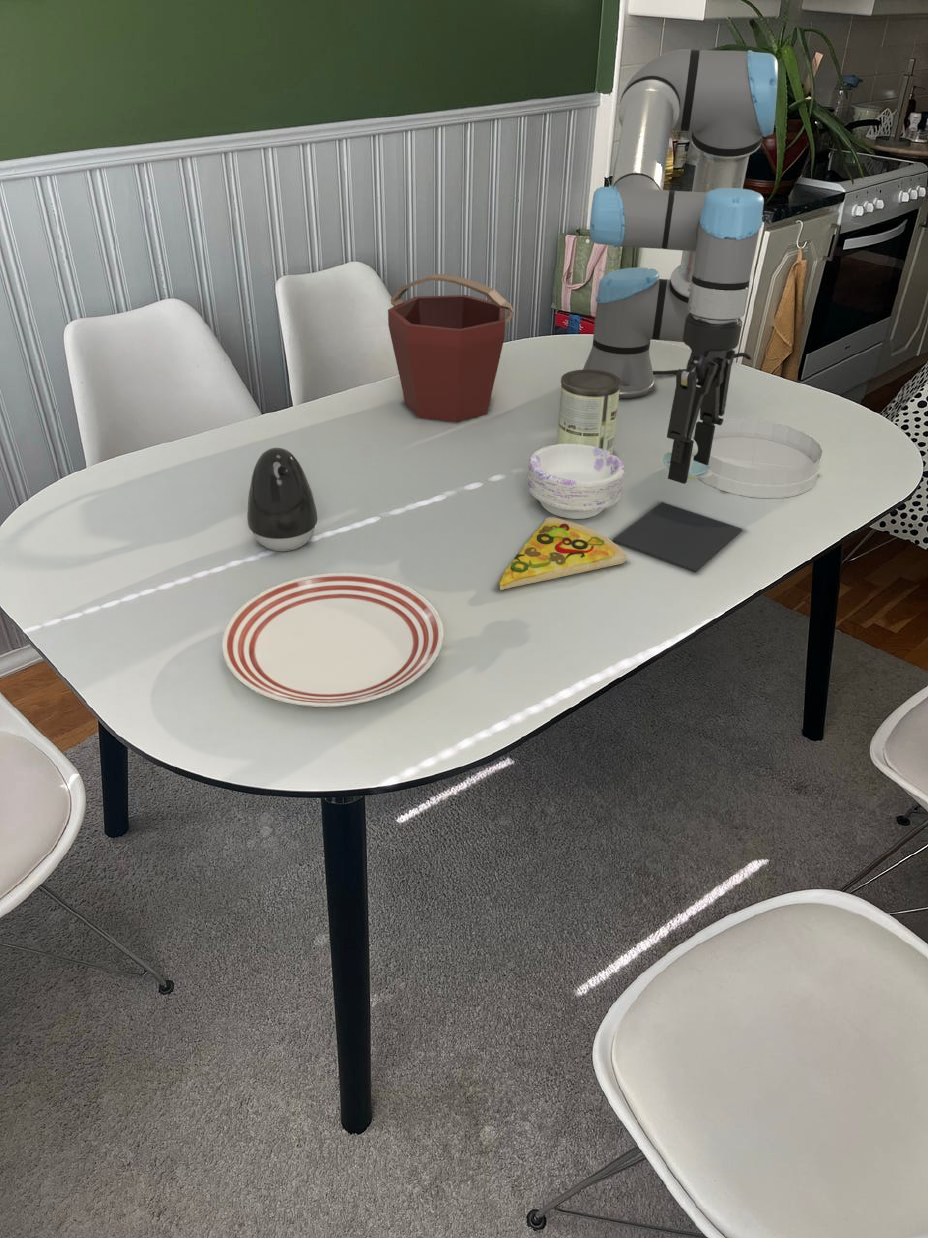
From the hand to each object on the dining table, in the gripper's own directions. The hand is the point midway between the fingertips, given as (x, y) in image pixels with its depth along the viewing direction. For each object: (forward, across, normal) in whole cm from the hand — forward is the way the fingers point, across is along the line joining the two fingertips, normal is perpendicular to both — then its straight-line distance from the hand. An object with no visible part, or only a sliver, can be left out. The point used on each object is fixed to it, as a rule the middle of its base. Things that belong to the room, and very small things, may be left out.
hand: (688, 472), depth 140 cm
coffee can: (+11, -16, -27) cm, 33 cm away
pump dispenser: (+11, +40, -45) cm, 61 cm away
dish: (+11, -30, -1) cm, 32 cm away
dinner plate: (+11, +55, -20) cm, 59 cm away
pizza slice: (+11, +20, -11) cm, 25 cm away
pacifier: (+1, 0, 0) cm, 1 cm away
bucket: (+11, -18, -60) cm, 64 cm away
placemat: (+11, 0, 0) cm, 11 cm away
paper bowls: (+11, +2, -18) cm, 21 cm away
